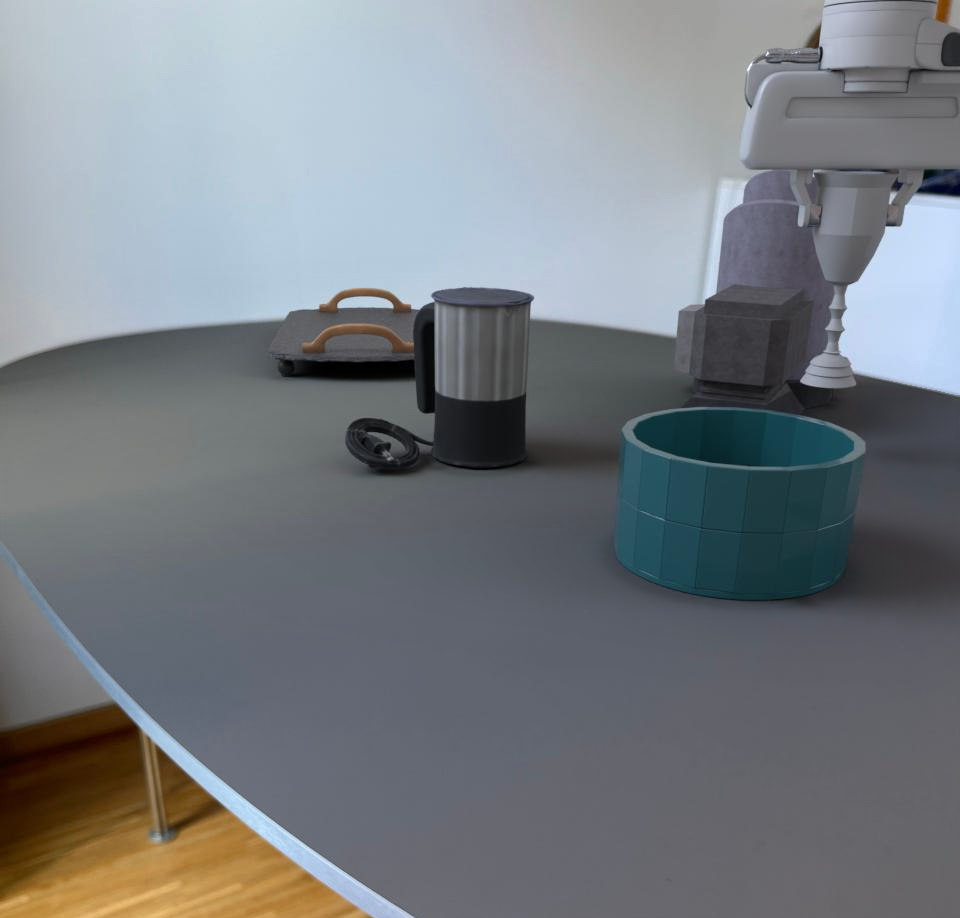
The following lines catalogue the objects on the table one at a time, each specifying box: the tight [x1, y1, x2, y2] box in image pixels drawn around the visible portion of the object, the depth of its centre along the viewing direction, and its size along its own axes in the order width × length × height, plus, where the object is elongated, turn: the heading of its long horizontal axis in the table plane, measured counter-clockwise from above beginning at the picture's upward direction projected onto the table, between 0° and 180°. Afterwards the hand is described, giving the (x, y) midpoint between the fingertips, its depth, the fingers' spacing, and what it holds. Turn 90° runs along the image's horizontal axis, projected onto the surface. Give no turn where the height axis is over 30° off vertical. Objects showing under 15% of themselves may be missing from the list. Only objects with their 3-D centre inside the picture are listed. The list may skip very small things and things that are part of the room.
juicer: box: [673, 170, 835, 415], centre depth 117 cm, size 30×16×24 cm, turn 155°
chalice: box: [800, 170, 900, 389], centre depth 96 cm, size 7×7×18 cm
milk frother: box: [344, 286, 535, 470], centre depth 97 cm, size 14×16×15 cm
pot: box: [613, 407, 867, 601], centre depth 77 cm, size 17×17×9 cm
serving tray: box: [266, 287, 420, 377], centre depth 145 cm, size 39×23×6 cm, turn 4°
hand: (849, 226), depth 94 cm, fingers closed on chalice, 6 cm apart
